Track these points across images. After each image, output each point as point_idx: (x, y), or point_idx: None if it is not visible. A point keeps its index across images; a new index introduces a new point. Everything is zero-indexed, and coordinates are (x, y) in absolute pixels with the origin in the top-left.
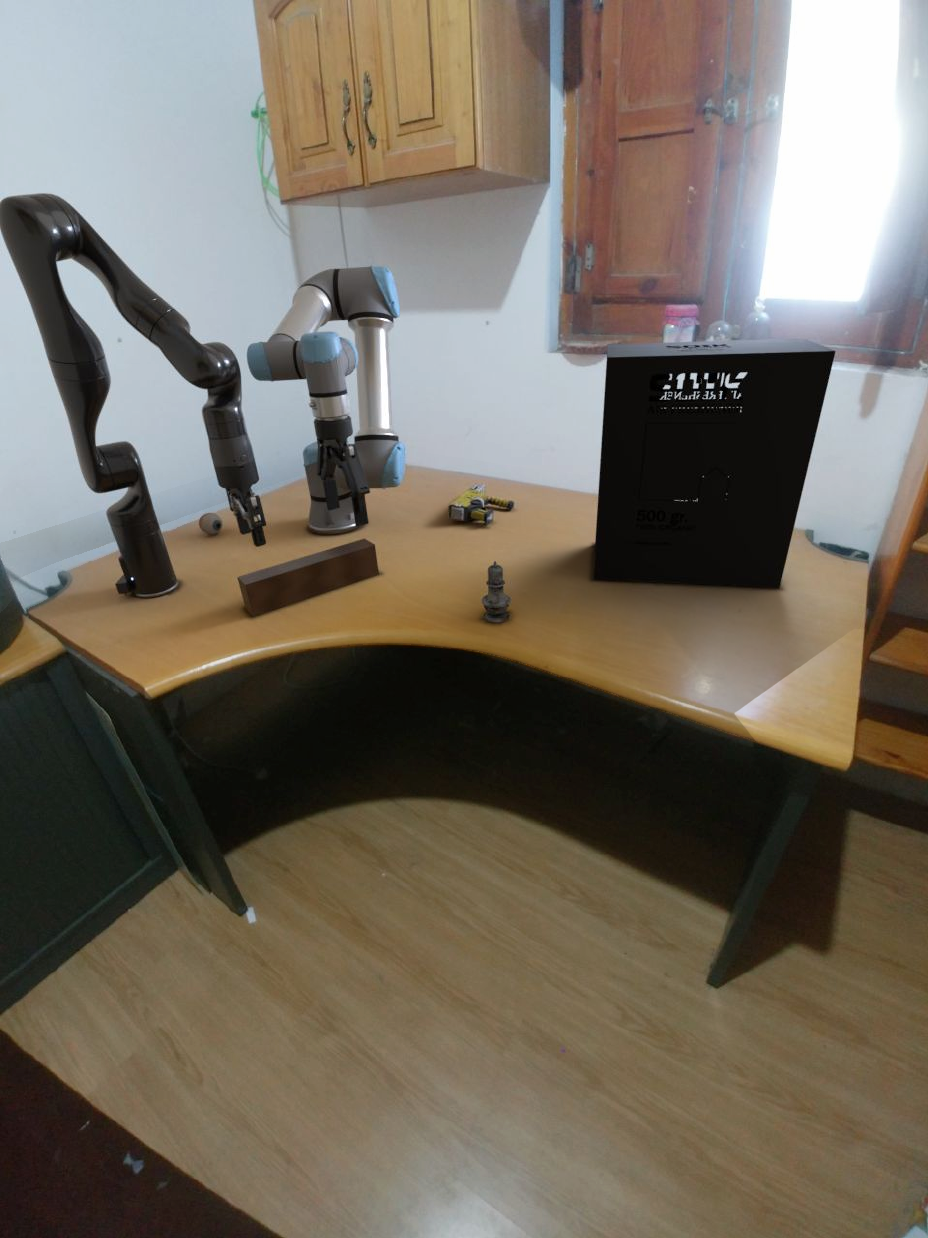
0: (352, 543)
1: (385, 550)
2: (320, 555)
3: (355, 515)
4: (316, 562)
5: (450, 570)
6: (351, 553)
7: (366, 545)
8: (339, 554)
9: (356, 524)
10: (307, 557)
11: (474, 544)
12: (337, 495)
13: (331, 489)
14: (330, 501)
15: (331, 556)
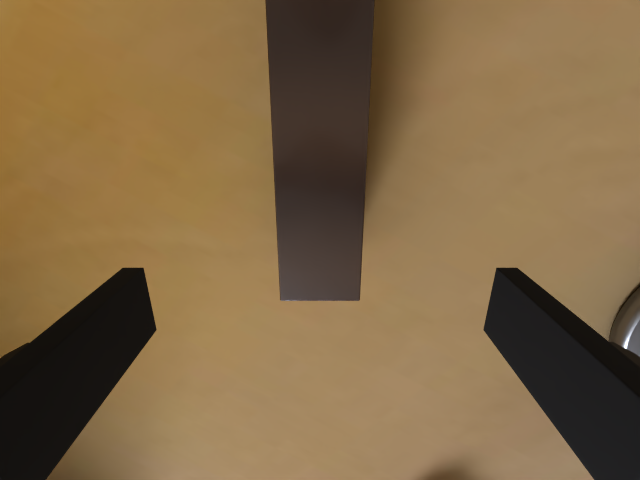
0: (348, 248)
1: (414, 334)
2: (330, 91)
3: (80, 303)
4: (269, 38)
5: (196, 380)
6: (276, 206)
7: (293, 276)
8: (282, 160)
9: (122, 272)
10: (351, 29)
11: (286, 473)
12: (526, 383)
13: (573, 396)
14: (522, 313)
15: (286, 125)
